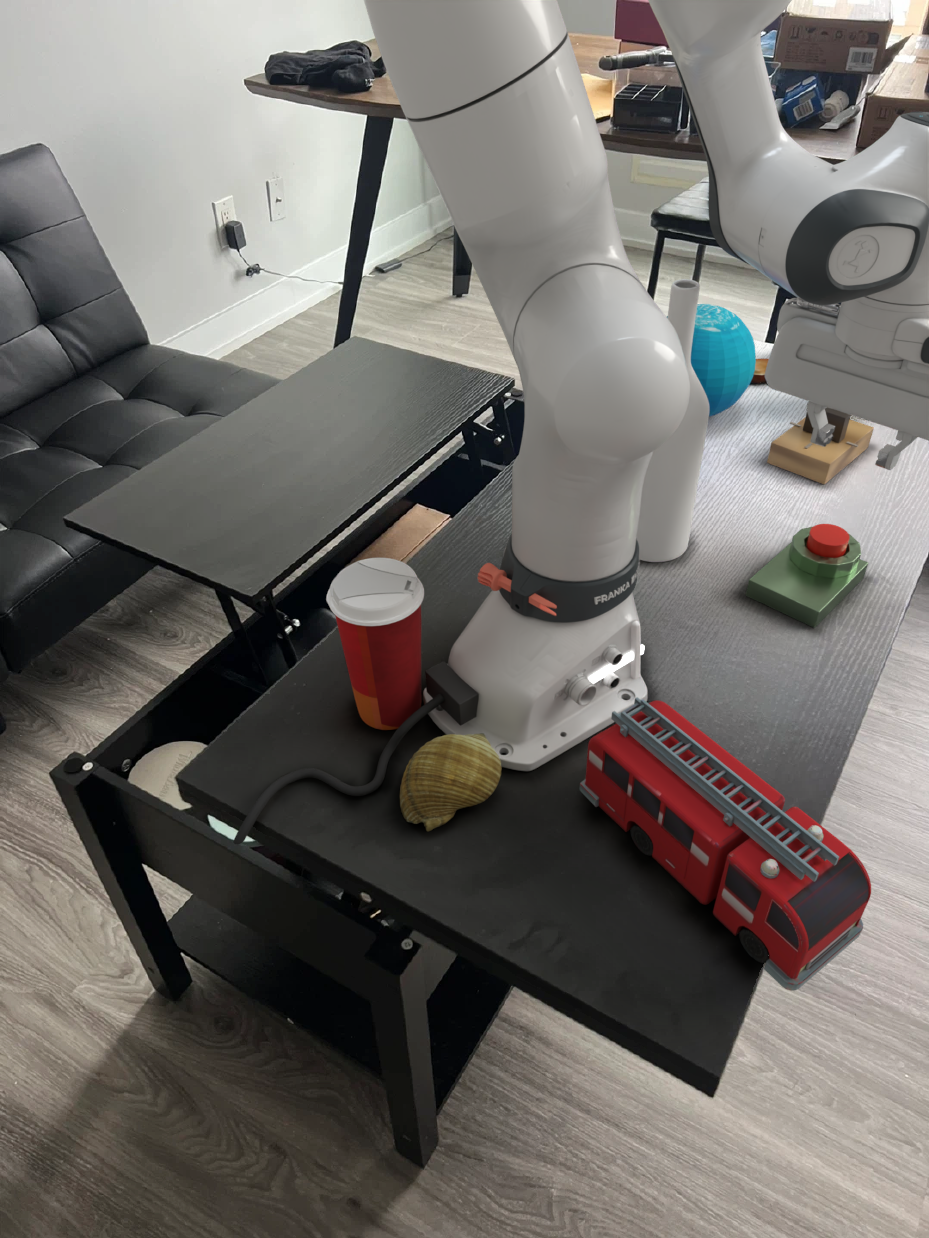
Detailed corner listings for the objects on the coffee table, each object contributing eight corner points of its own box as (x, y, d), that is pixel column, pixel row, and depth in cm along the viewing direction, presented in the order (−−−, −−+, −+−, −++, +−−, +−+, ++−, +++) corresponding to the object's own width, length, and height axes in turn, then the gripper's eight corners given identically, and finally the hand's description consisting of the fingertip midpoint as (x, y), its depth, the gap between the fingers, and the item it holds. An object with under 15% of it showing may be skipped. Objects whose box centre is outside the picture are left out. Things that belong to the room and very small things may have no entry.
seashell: (432, 856, 78) (477, 847, 72) (369, 809, 77) (408, 795, 70) (482, 765, 83) (528, 749, 77) (423, 719, 82) (465, 699, 75)
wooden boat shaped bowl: (814, 369, 137) (817, 358, 136) (823, 386, 133) (826, 374, 132) (718, 369, 138) (720, 358, 137) (724, 386, 134) (726, 375, 133)
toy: (788, 1002, 63) (819, 925, 57) (576, 798, 78) (581, 717, 71) (861, 938, 67) (898, 858, 60) (645, 754, 81) (656, 673, 75)
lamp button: (834, 563, 95) (838, 550, 94) (799, 548, 97) (802, 535, 96) (852, 546, 97) (856, 533, 96) (817, 532, 99) (821, 519, 98)
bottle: (650, 572, 101) (685, 307, 81) (602, 537, 106) (624, 281, 86) (703, 546, 104) (748, 286, 85) (654, 514, 109) (686, 262, 90)
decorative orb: (616, 417, 128) (626, 313, 118) (671, 378, 136) (683, 278, 126) (713, 450, 120) (731, 342, 110) (764, 406, 129) (785, 302, 119)
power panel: (829, 486, 113) (835, 464, 111) (762, 461, 118) (767, 439, 116) (872, 449, 119) (879, 427, 117) (807, 426, 124) (812, 405, 122)
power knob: (844, 438, 115) (851, 411, 113) (838, 443, 115) (845, 416, 112) (808, 425, 118) (814, 399, 116) (802, 430, 117) (808, 404, 115)
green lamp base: (814, 628, 93) (823, 598, 90) (745, 595, 97) (751, 565, 95) (867, 574, 99) (877, 545, 97) (800, 545, 104) (807, 517, 101)
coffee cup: (440, 681, 89) (431, 557, 79) (423, 743, 83) (411, 616, 73) (357, 674, 90) (339, 550, 81) (334, 734, 84) (311, 608, 74)
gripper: (767, 300, 85) (742, 432, 94) (994, 362, 74) (941, 504, 83) (800, 280, 88) (773, 409, 97) (1022, 337, 77) (968, 476, 86)
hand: (852, 454), depth 90 cm, fingers open, 5 cm apart
